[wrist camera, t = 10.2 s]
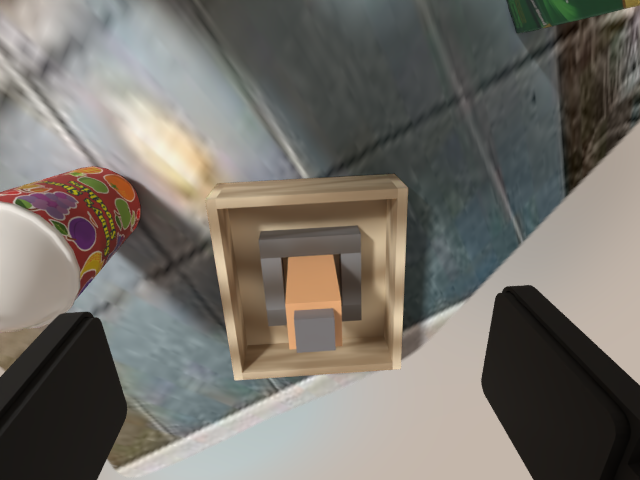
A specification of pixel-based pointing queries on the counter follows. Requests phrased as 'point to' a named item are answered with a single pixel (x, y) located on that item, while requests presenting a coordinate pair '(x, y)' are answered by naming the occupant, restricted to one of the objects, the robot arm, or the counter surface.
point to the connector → (313, 304)
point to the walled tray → (307, 212)
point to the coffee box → (560, 11)
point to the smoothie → (59, 241)
